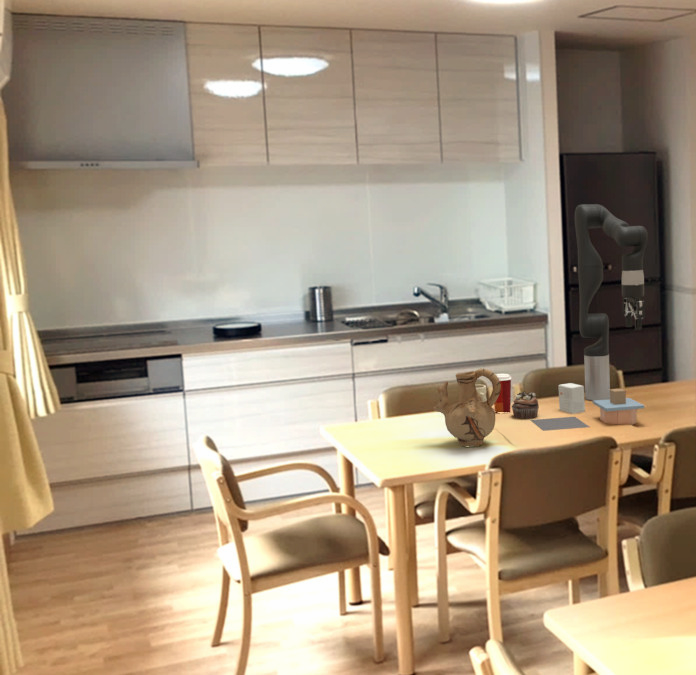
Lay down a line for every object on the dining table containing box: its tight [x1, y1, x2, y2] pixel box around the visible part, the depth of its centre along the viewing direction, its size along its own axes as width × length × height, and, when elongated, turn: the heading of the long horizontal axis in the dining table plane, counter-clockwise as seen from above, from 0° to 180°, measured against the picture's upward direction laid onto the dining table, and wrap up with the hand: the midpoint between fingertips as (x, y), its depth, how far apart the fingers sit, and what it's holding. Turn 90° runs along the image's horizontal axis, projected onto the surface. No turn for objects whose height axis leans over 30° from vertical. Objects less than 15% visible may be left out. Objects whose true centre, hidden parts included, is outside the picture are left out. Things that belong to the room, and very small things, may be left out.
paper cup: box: [491, 373, 513, 413], centre depth 320 cm, size 8×8×14 cm
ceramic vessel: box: [432, 368, 501, 448], centre depth 276 cm, size 18×19×25 cm
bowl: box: [599, 407, 638, 426], centre depth 293 cm, size 11×11×6 cm
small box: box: [558, 382, 586, 415], centre depth 311 cm, size 8×6×10 cm
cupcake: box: [511, 391, 540, 420], centre depth 307 cm, size 10×10×10 cm
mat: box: [529, 416, 590, 432], centre depth 294 cm, size 16×16×1 cm
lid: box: [592, 388, 645, 411], centre depth 292 cm, size 13×13×6 cm
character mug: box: [475, 383, 488, 402], centre depth 308 cm, size 11×7×13 cm, turn 18°
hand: (633, 328), depth 305 cm, fingers open, 8 cm apart
